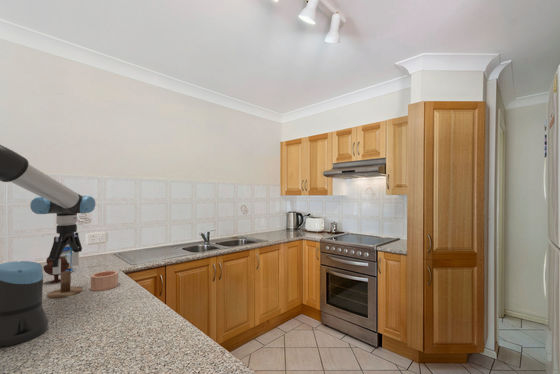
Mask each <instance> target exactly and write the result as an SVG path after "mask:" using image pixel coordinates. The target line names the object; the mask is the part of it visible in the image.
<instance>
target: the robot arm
mask: <svg viewBox="0 0 560 374" xmlns="http://www.w3.org/2000/svg"><path fill="white" fill-rule="evenodd" d="M0 182H3V183H12V184H14V185H16V186H19V187H20V188H22V189H24V190H26V191H28V192H30V193H32V194H35V195H36V197H34V198H33V199H32V200H31V202H30V210H31V212H32V213H34V214H36V215H47V214H48V215H49V214H50V215H51V214H53V215H54V214H56V217H55V218H56V219H55V220H56V221H55V222H56V223H55V224H56V228H55V229H56V231H55V232H56V234H59V236H54V237H53V243H52V246H51V249H50V252H49V255H48V257H49V259H50V260H53V274H59V275H61V259H59V258H60V256H61V254H62V252H63V250H64V248H65V246H67V244H69V246H70V247H71V249H72V250H73V251H72V266H73V267H75V266H76V267H77V266H79V265H80V252H82V249H83V247H82V244H81V241H80V237H79V232H78V225H77V223H78V214H91V213H92V212H93V211H94V210H95V209H96V208H95V207H96V199H95V198H94V197H93V196H91V195H81V194H79V193H78V192H76V191H74V190H72V189H71V188H69V187H67V186H66V185H65V184H62V183H61V182H59V181H57V180H56V179H54V178H52V177H51V176H49V175H48V174H46V173H44V172H43V171H41V170H39V169H38V168H37V167H34V166H33V165H31V164H30V162H29V160H28V158H26V157H24V156H22V154H19V153H17V152H16V151H15V150H13V149H10V148H8V147H6V146H5V145H2V144H0ZM43 271H44V270H43V266H42V264H40V263H39V262H36V261H31V260H29V261H28V260H21V261H17V260H16V261H15V260H14V261H10V262H9V261H8V262H7V261H6V262H3V263H0V348H3V347H2V346H6V347H9V345H11V346H15V345H17V344H21V343H24V342H26V341H30V340H32V339H34V338H37V337H38V336H40V335H42V334H44V333H45V332H46V331H48V328H49V319H48V317H47V315H46V313H45V310H44V308H43V303H42V302H43V284H44V283H43V282H44V272H43ZM14 344H15V345H14Z"/></svg>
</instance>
